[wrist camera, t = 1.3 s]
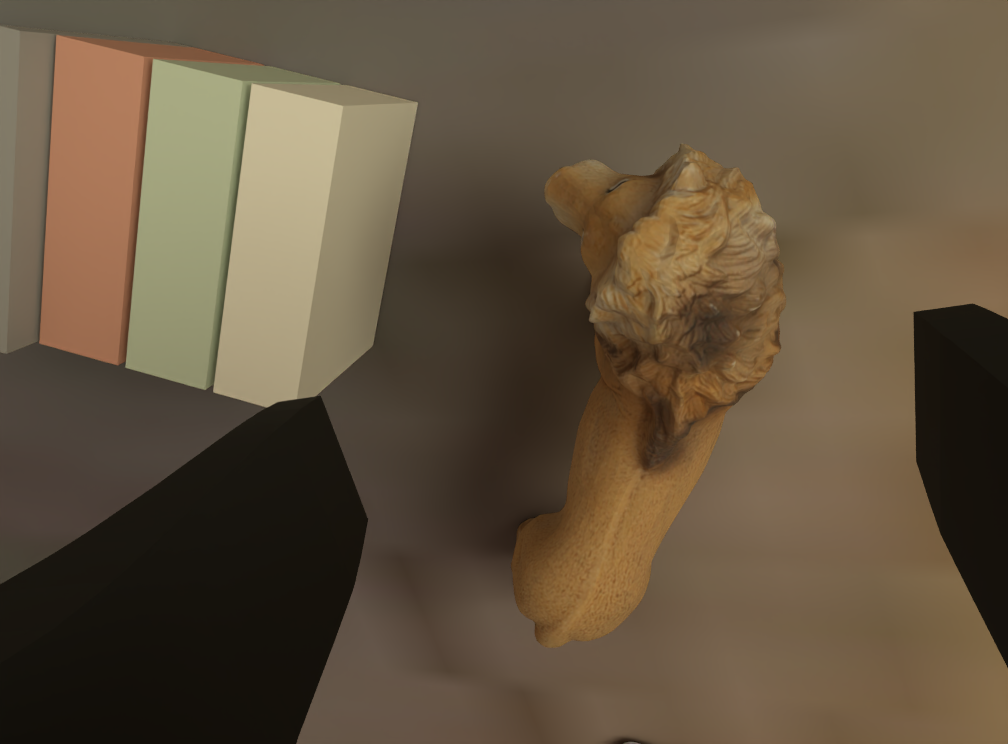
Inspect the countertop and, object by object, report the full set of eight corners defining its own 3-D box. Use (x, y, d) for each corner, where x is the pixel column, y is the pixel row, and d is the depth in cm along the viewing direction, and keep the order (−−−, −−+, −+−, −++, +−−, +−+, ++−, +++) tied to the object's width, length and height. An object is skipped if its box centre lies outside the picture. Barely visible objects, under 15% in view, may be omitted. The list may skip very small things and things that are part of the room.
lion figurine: (583, 116, 24) (537, 130, 15) (788, 148, 23) (862, 181, 14) (503, 597, 28) (434, 814, 20) (672, 634, 28) (676, 875, 19)
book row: (418, 102, 24) (326, 106, 18) (372, 345, 26) (276, 430, 20) (171, 41, 25) (-7, 24, 18) (148, 284, 27) (-18, 346, 20)
